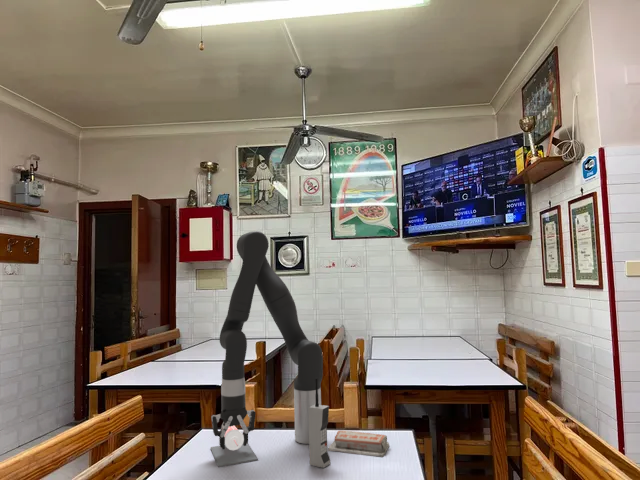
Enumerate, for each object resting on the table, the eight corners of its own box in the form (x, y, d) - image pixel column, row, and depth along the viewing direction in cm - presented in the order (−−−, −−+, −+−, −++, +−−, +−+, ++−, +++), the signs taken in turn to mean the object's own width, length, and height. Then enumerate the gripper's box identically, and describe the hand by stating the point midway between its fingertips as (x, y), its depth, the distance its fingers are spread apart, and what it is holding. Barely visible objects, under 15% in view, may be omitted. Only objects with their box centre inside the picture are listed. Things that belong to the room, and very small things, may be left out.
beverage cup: (219, 441, 149) (226, 456, 136) (221, 422, 149) (228, 435, 136) (237, 440, 151) (246, 455, 138) (239, 421, 151) (248, 434, 138)
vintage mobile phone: (324, 468, 130) (321, 380, 132) (309, 465, 133) (307, 378, 135) (330, 463, 133) (328, 377, 136) (316, 460, 136) (314, 376, 138)
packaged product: (389, 431, 147) (382, 442, 138) (389, 447, 147) (383, 459, 137) (336, 426, 153) (327, 436, 144) (337, 441, 153) (327, 452, 144)
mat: (246, 442, 152) (246, 441, 152) (258, 460, 138) (258, 458, 138) (210, 448, 148) (210, 447, 148) (218, 467, 133) (218, 465, 133)
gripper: (212, 397, 138) (212, 454, 136) (258, 392, 143) (259, 447, 141) (208, 392, 145) (209, 446, 143) (252, 387, 150) (253, 439, 148)
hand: (234, 446), depth 142 cm, fingers closed on beverage cup, 6 cm apart
